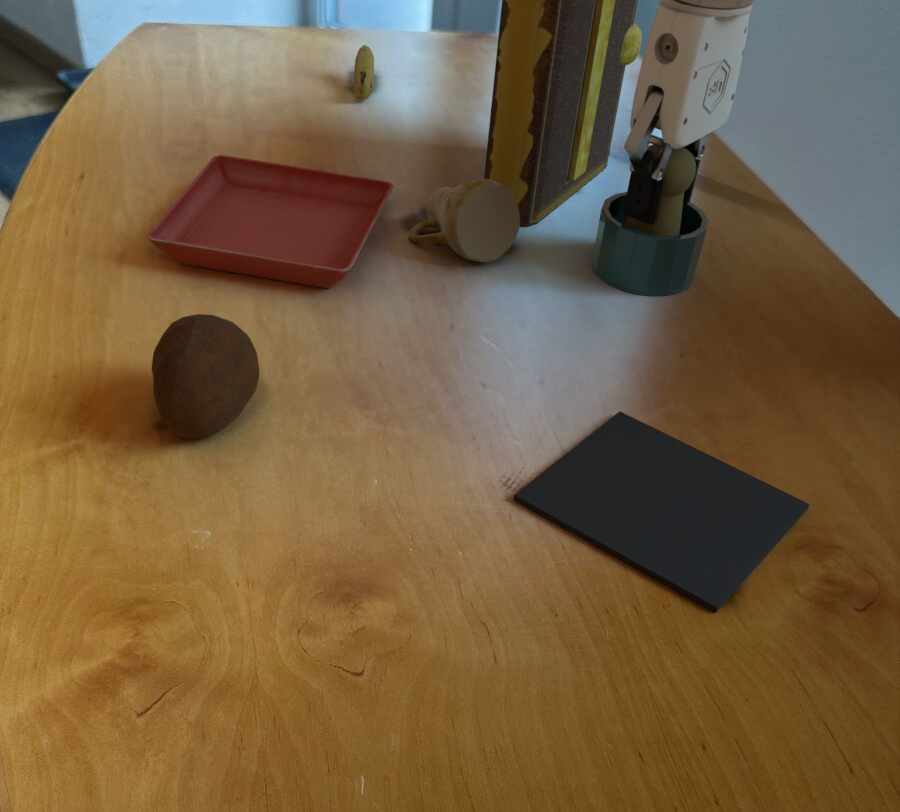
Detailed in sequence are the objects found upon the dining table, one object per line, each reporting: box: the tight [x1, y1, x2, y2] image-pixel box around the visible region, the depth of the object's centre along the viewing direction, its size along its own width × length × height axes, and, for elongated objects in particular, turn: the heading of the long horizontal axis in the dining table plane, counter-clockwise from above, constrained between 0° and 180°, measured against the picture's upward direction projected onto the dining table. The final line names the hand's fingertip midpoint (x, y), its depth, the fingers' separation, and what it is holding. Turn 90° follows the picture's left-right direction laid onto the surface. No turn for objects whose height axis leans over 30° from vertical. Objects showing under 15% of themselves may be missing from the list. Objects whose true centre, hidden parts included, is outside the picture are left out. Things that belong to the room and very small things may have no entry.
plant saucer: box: [146, 154, 395, 289], centre depth 93 cm, size 18×18×3 cm
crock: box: [591, 191, 710, 297], centre depth 94 cm, size 10×10×6 cm
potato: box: [151, 313, 260, 440], centre depth 72 cm, size 7×10×8 cm
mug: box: [407, 178, 521, 263], centre depth 95 cm, size 8×10×10 cm
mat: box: [513, 411, 810, 613], centre depth 72 cm, size 16×14×1 cm
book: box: [483, 0, 643, 228], centre depth 99 cm, size 22×8×25 cm, turn 150°
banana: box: [353, 45, 375, 101], centre depth 121 cm, size 10×2×4 cm, turn 1°
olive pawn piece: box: [624, 144, 696, 236], centre depth 92 cm, size 6×6×11 cm
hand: (656, 206), depth 92 cm, fingers closed on olive pawn piece, 5 cm apart
